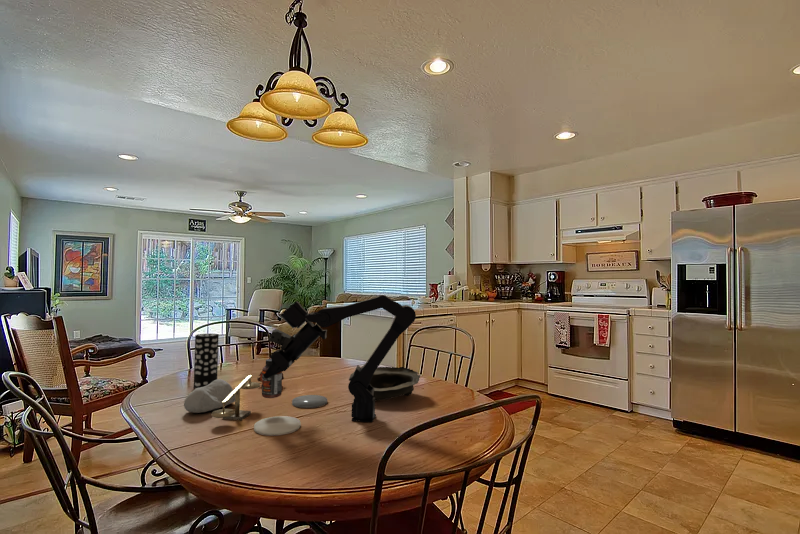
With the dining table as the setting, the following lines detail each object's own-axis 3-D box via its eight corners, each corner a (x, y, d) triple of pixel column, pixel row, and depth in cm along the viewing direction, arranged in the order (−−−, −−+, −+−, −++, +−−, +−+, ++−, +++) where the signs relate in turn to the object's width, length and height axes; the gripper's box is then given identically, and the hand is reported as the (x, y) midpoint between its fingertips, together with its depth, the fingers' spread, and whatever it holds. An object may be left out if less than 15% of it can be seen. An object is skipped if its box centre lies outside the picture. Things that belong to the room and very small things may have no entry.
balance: (262, 406, 140) (263, 373, 140) (227, 430, 118) (228, 391, 118) (245, 405, 140) (245, 372, 141) (206, 428, 119) (207, 389, 119)
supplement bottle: (257, 397, 128) (258, 360, 128) (270, 392, 133) (270, 357, 133) (273, 399, 125) (273, 362, 126) (285, 394, 131) (286, 358, 131)
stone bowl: (421, 388, 166) (422, 365, 165) (417, 413, 141) (418, 386, 141) (360, 384, 168) (361, 362, 168) (346, 408, 144) (347, 382, 143)
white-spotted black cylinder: (193, 384, 165) (195, 333, 166) (216, 382, 169) (218, 333, 169) (193, 389, 158) (195, 336, 158) (217, 387, 161) (218, 336, 161)
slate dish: (331, 398, 150) (331, 396, 150) (320, 409, 138) (320, 406, 138) (299, 396, 151) (299, 394, 152) (286, 406, 140) (286, 403, 140)
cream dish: (307, 421, 127) (307, 417, 127) (289, 437, 114) (290, 433, 114) (266, 418, 128) (266, 414, 128) (245, 433, 116) (245, 430, 116)
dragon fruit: (279, 393, 161) (260, 392, 168) (292, 376, 167) (273, 376, 174) (267, 377, 158) (248, 377, 165) (281, 361, 164) (262, 361, 171)
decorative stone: (218, 391, 147) (229, 370, 144) (236, 411, 143) (247, 390, 140) (172, 408, 131) (183, 385, 128) (190, 431, 128) (202, 407, 125)
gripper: (292, 317, 139) (258, 350, 139) (277, 324, 121) (238, 362, 120) (315, 341, 139) (282, 374, 139) (304, 351, 121) (265, 389, 120)
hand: (267, 374), depth 129 cm, fingers closed on supplement bottle, 6 cm apart
